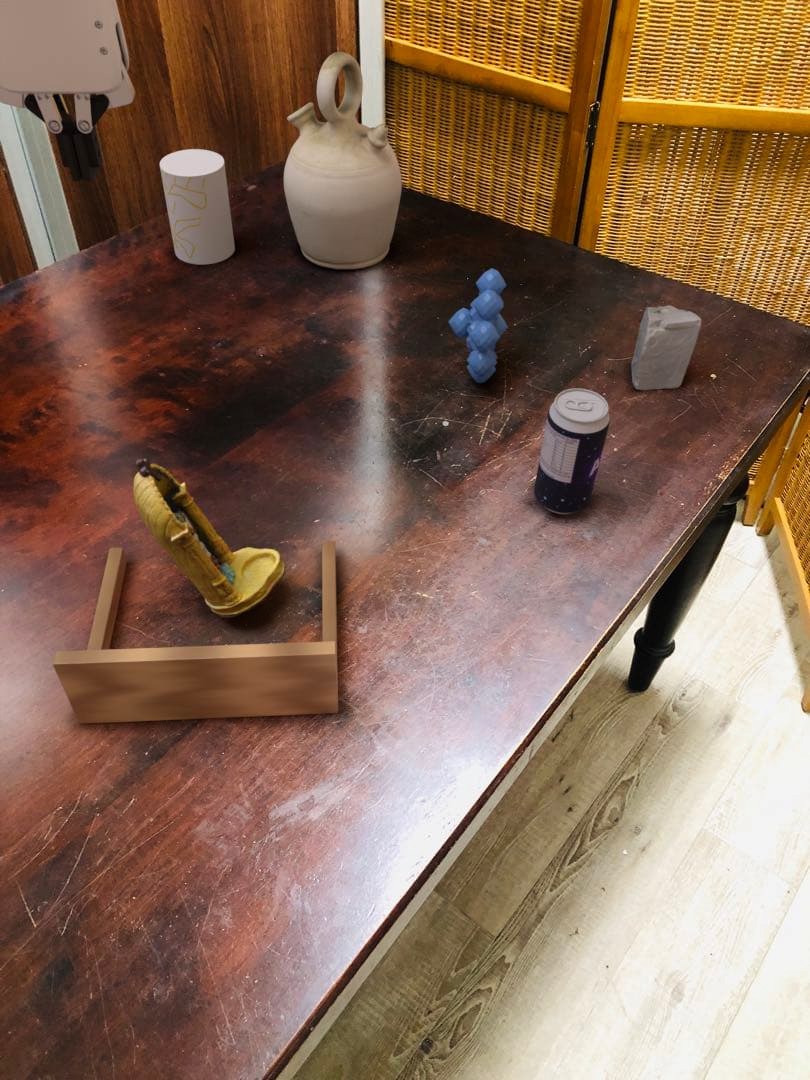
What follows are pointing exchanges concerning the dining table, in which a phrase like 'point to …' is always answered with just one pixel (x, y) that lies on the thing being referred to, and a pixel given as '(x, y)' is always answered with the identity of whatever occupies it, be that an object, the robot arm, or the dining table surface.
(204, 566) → the shrine
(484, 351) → the grapes
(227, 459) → the dining table surface
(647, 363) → the mineral specimen
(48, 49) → the robot arm
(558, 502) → the beverage can
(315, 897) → the dining table surface
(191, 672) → the wooden bench frame
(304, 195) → the jug
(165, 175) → the white upright cylinder
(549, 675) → the dining table surface
